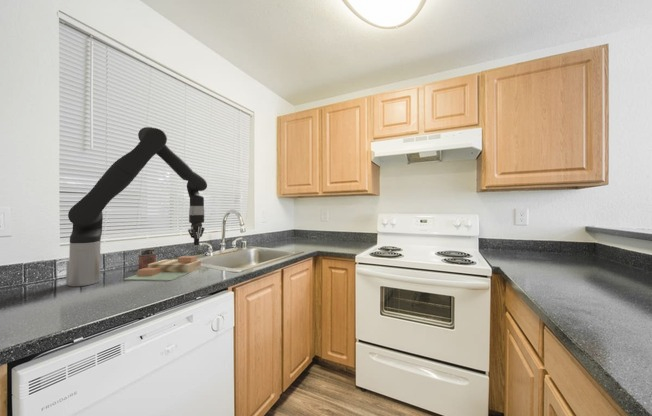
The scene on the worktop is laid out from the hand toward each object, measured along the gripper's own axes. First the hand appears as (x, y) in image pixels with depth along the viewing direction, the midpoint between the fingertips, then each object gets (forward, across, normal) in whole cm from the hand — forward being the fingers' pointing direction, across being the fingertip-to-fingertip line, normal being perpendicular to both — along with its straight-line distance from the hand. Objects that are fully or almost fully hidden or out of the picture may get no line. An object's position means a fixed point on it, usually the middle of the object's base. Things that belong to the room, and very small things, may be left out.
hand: (196, 245), depth 137 cm
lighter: (+12, +7, -22) cm, 26 cm away
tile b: (+6, +8, 0) cm, 10 cm away
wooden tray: (+11, +10, -5) cm, 16 cm away
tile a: (+10, +21, -11) cm, 26 cm away
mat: (+11, +23, -5) cm, 26 cm away
